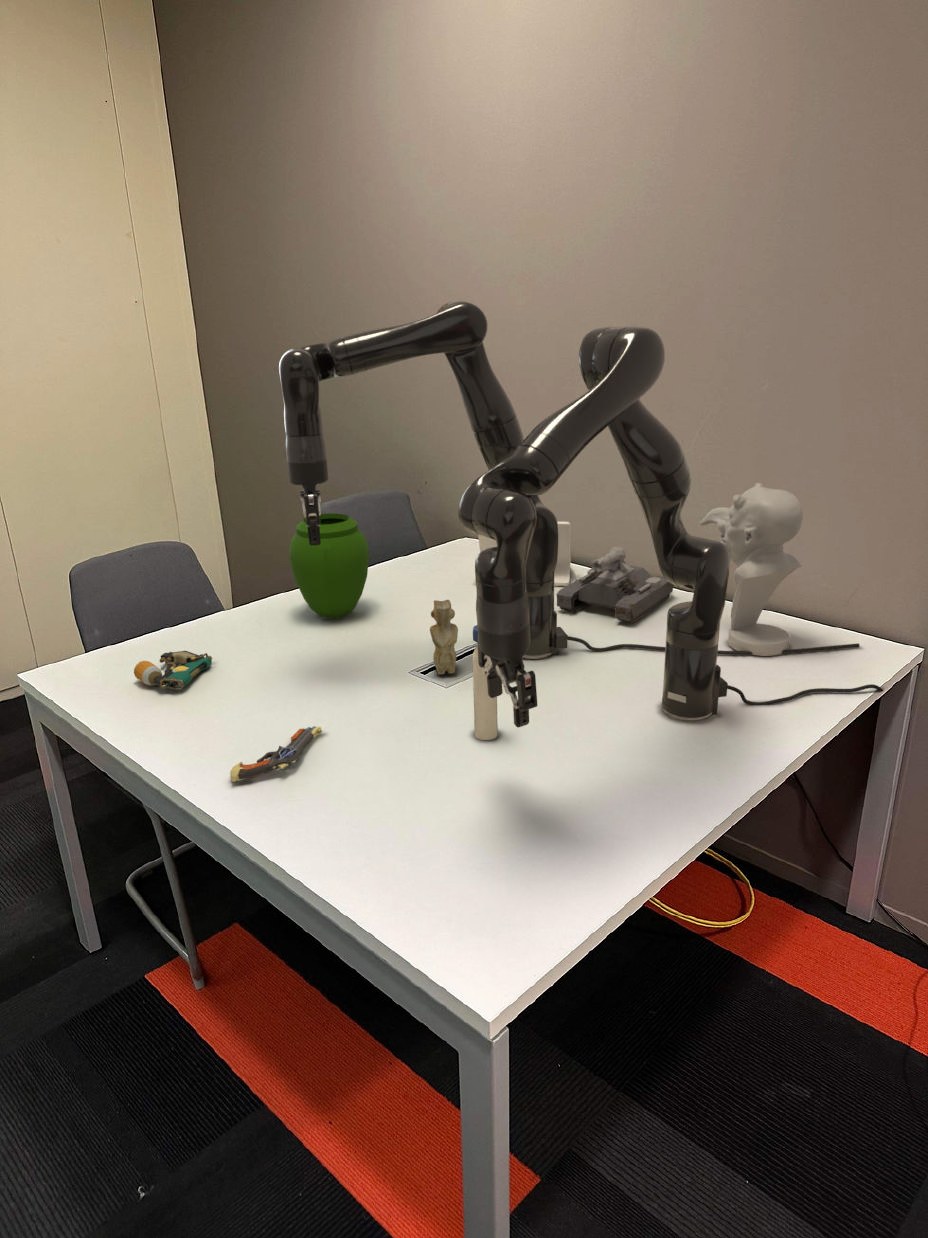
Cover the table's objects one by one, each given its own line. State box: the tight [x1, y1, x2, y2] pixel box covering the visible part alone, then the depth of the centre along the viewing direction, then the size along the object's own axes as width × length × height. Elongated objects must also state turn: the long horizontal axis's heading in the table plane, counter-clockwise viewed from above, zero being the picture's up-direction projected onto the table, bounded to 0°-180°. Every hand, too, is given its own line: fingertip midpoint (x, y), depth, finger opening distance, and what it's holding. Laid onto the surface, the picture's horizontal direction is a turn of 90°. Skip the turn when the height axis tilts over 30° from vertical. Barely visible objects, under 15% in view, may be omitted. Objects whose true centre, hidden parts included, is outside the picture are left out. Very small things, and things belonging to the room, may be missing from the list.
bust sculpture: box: [699, 482, 804, 657], centre depth 185 cm, size 16×24×35 cm
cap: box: [472, 624, 478, 644], centre depth 146 cm, size 4×4×2 cm
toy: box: [556, 546, 675, 624], centre depth 212 cm, size 25×20×15 cm
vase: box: [288, 512, 370, 620], centre depth 209 cm, size 20×20×24 cm
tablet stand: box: [477, 521, 572, 587], centre depth 236 cm, size 18×25×17 cm
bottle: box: [472, 642, 499, 741], centre depth 149 cm, size 4×4×20 cm
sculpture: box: [429, 599, 459, 675], centre depth 177 cm, size 6×7×15 cm
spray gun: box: [133, 650, 213, 690], centre depth 180 cm, size 4×17×15 cm
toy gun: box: [229, 725, 323, 782], centre depth 147 cm, size 3×19×10 cm
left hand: (314, 539), depth 170 cm, fingers open, 8 cm apart
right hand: (508, 709), depth 130 cm, fingers open, 8 cm apart
